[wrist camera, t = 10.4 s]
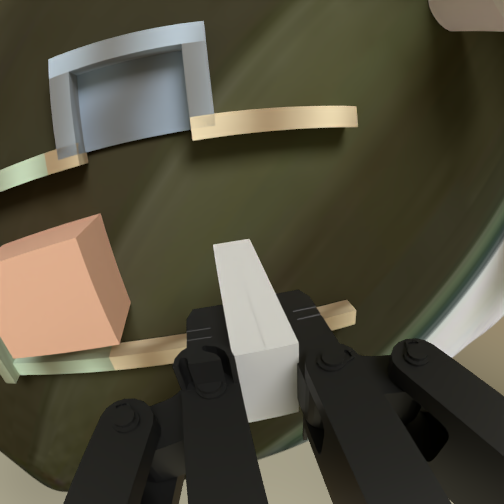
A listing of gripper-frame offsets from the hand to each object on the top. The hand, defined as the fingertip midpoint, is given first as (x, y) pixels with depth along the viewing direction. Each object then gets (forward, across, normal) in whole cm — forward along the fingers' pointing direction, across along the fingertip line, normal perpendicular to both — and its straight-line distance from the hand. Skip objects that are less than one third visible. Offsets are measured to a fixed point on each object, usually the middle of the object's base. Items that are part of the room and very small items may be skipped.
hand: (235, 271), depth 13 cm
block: (+5, -11, -1) cm, 12 cm away
